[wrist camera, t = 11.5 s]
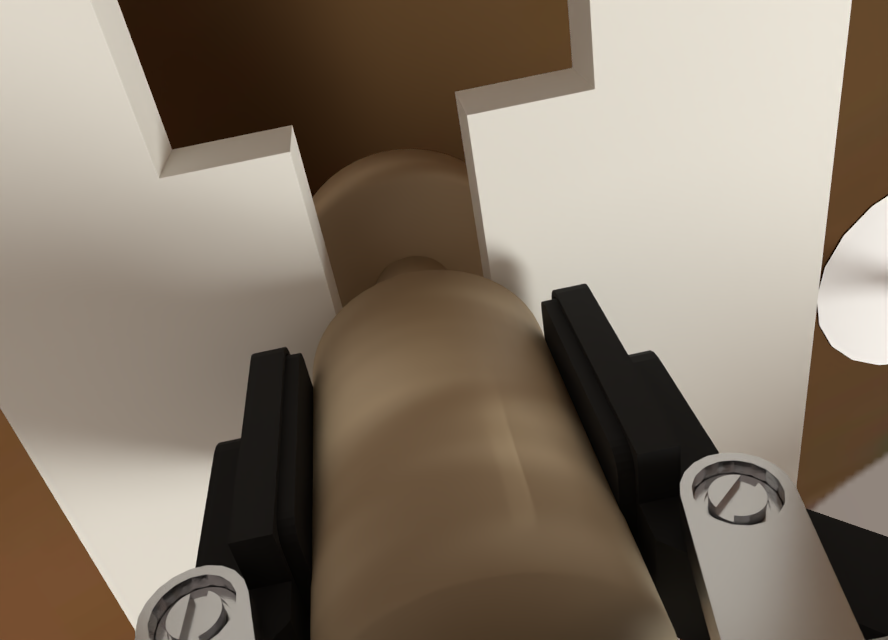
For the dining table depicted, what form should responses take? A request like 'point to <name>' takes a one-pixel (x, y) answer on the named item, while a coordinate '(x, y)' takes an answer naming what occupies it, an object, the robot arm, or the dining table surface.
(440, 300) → the peg
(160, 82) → the dining table surface
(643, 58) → the keyhole shelf
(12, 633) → the dining table surface
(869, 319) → the wineglass
